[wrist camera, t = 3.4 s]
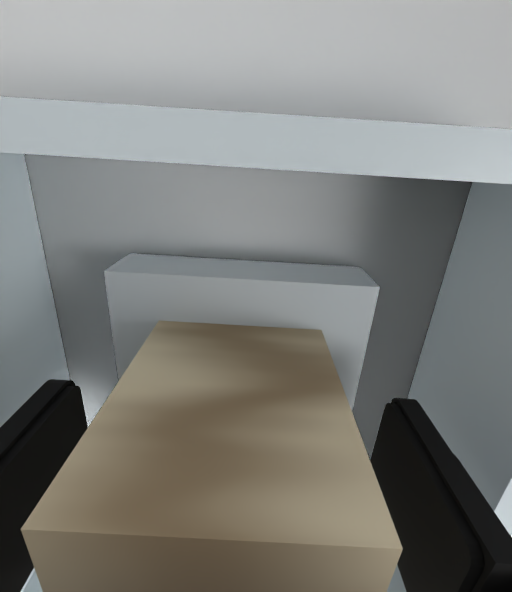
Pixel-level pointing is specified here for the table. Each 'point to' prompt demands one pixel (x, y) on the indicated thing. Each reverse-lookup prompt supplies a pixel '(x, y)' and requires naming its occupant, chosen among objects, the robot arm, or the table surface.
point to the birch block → (218, 475)
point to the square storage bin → (277, 275)
